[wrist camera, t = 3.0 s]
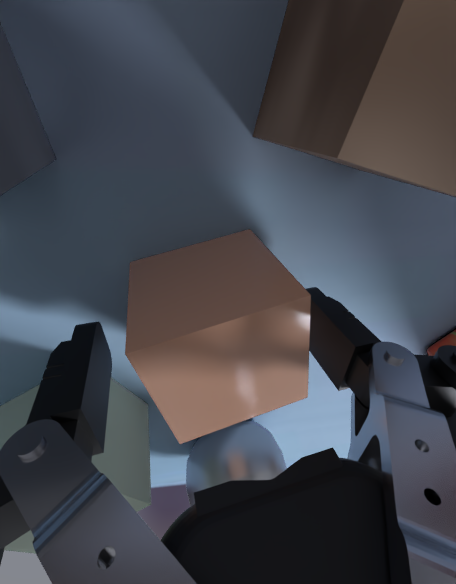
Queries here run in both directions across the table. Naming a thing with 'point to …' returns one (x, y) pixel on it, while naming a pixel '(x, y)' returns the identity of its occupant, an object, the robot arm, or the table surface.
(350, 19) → the walnut cube
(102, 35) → the table surface
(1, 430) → the sage cube
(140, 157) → the table surface
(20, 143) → the charcoal cube
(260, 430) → the plastic bottle
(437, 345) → the cracker box
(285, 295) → the terracotta cube
